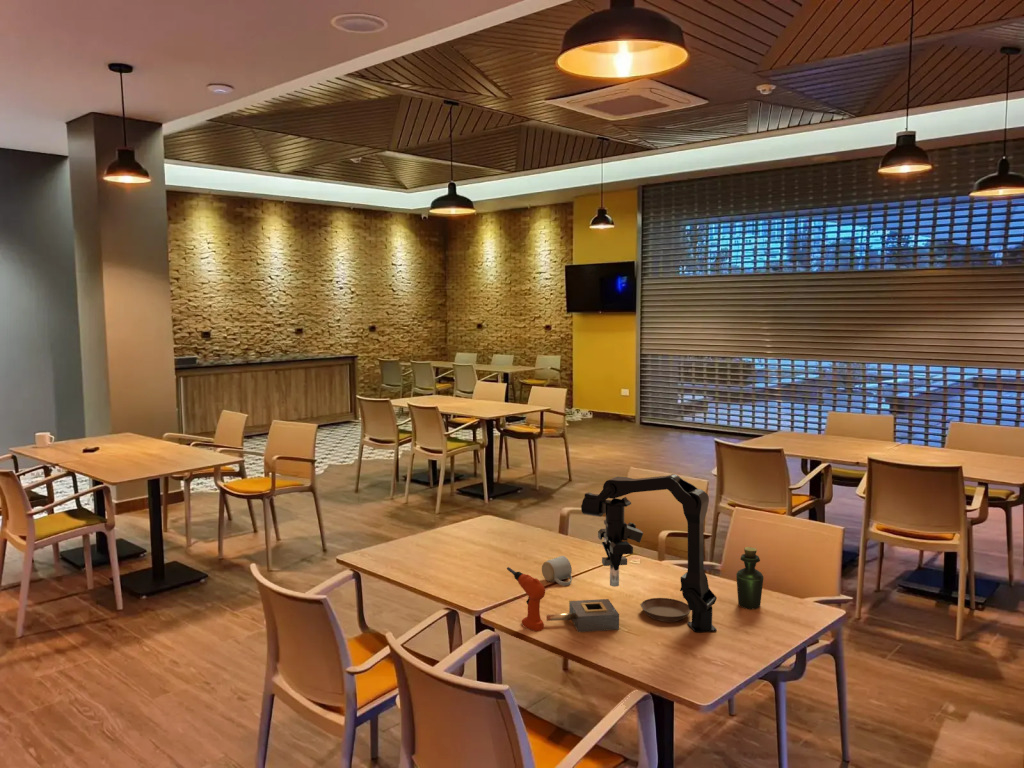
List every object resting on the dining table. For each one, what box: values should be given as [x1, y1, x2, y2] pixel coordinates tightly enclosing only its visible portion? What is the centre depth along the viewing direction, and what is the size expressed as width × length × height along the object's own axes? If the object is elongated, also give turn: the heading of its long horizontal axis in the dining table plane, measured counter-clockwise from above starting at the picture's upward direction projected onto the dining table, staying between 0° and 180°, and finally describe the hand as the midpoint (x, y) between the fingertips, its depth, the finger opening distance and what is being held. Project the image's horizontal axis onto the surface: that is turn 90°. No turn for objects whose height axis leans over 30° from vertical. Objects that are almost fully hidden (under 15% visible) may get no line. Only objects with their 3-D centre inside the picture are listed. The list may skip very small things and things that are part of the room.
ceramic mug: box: [541, 555, 573, 587], centre depth 251 cm, size 11×8×8 cm
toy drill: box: [506, 566, 546, 632], centre depth 217 cm, size 5×19×15 cm, turn 33°
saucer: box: [640, 597, 692, 622], centre depth 222 cm, size 15×15×3 cm
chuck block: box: [545, 598, 620, 633], centre depth 216 cm, size 12×20×5 cm, turn 97°
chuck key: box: [601, 555, 628, 587], centre depth 226 cm, size 3×7×8 cm, turn 97°
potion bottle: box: [735, 546, 764, 610], centre depth 228 cm, size 8×8×18 cm
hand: (614, 568), depth 226 cm, fingers closed on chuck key, 3 cm apart
